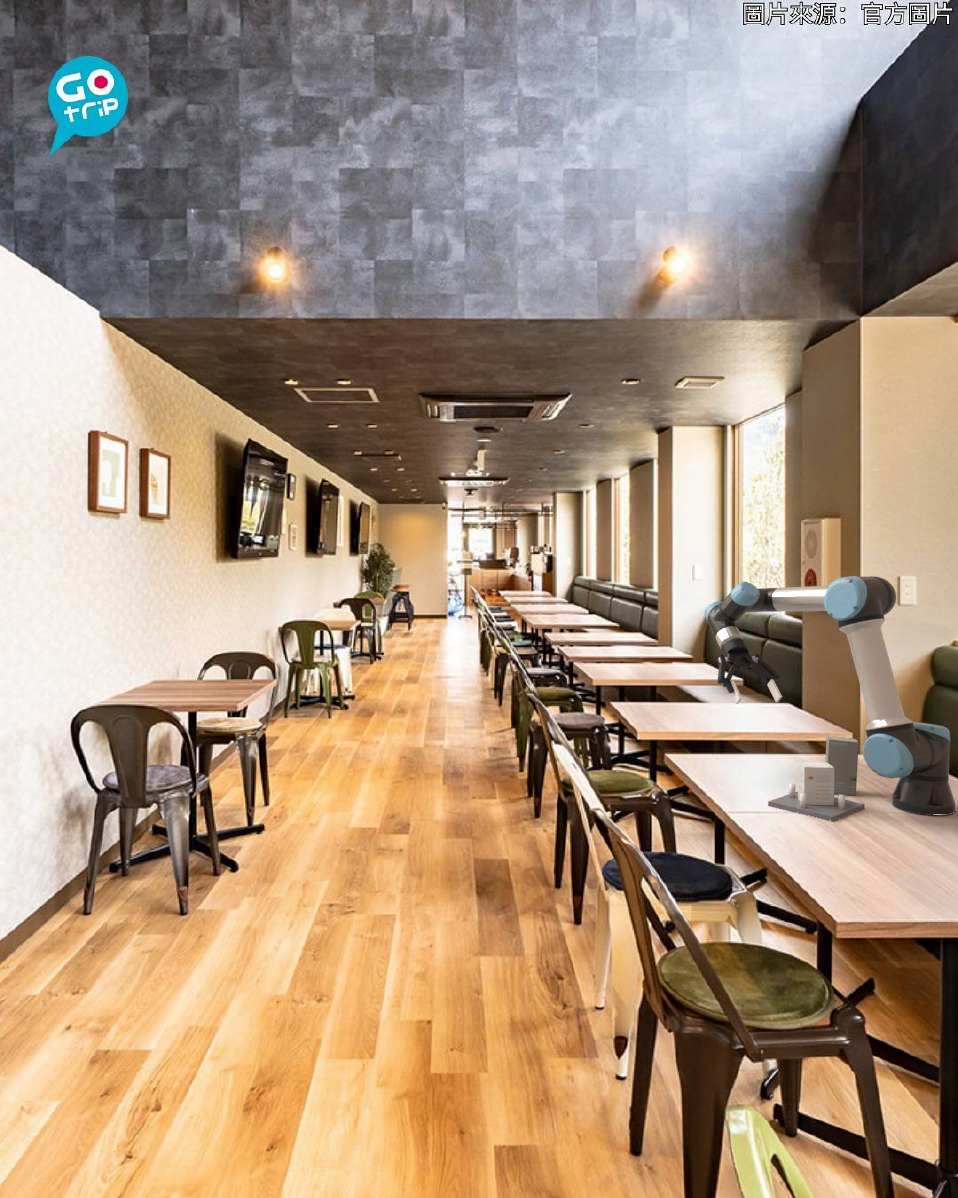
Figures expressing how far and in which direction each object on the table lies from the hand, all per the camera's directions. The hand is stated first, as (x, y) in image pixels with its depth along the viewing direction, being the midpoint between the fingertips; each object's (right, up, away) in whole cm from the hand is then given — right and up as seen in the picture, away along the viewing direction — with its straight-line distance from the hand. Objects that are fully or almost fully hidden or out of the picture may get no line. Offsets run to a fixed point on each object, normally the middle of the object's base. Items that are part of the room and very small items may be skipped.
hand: (759, 700), depth 246 cm
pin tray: (+9, -27, -20) cm, 34 cm away
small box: (+8, -26, -20) cm, 34 cm away
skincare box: (+22, -26, -5) cm, 34 cm away
